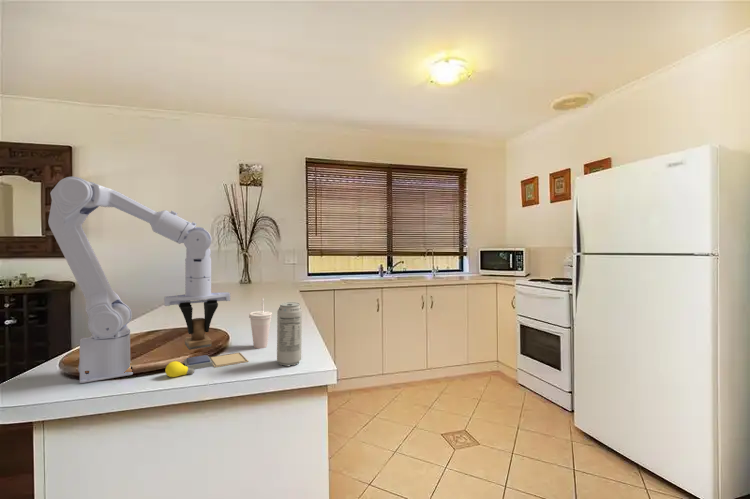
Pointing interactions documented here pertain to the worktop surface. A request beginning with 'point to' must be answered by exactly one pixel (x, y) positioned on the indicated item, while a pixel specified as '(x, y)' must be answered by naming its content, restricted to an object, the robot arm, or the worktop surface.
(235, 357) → the card sheet
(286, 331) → the energy drink can
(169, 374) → the light bulb
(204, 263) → the robot arm
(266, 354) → the worktop surface
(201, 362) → the ink pad
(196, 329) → the stamp
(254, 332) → the smoothie
